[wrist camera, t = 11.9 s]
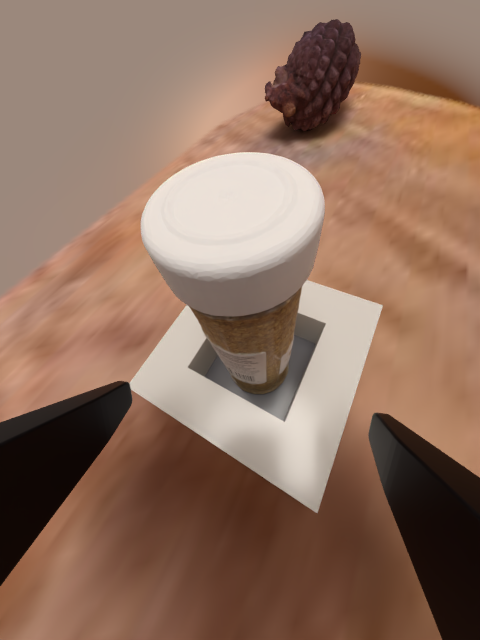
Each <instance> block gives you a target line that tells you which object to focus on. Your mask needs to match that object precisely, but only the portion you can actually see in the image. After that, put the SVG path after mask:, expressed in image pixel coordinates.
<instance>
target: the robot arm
mask: <svg viewBox="0 0 480 640" xmlns="http://www.w3.org/2000/svg"><path fill="white" fill-rule="evenodd" d="M131 404H132V394H131V388H130V384H129V383H128V382H124V381H117V382H114V383H111V384H108V385H105V386H102V387H100V388H97V389H94V390H91V391H88V392H85V393H83V394H80V395H77V396H74V397H71V398H68V399H66V400H63V401H60V402H57V403H54V404H51V405H49V406H46V407H43V408H40V409H37V410H34V411H32V412H29V413H26V414H23V415H20V416H17V417H15V418H12V419H9V420H6V421H3V422H0V586H1V585H2V583H3V582H4V581H5V579H6V578H7V577H8V575H9V574H10V573H11V571H12V570H13V569H14V567H15V566H16V565H17V563H18V562H19V561H20V559H21V558H22V557H23V555H24V554H25V553H26V551H27V550H28V549H29V547H30V546H31V545H32V543H33V542H34V541H35V539H36V538H37V537H38V535H39V534H40V533H41V531H42V530H43V529H44V527H45V526H46V525H47V523H48V522H49V521H50V519H51V518H52V517H53V515H54V514H55V513H56V511H57V510H58V509H59V507H60V506H61V505H62V503H63V502H64V501H65V499H66V498H67V497H68V495H69V494H70V493H71V491H72V490H73V489H74V487H75V486H76V484H77V483H78V482H79V480H80V479H81V478H82V476H83V475H84V474H85V472H86V471H87V470H88V468H89V467H90V466H91V464H92V463H93V462H94V460H95V459H96V458H97V456H98V455H99V454H100V452H101V451H102V450H103V448H104V447H105V446H106V444H107V443H108V441H109V440H110V438H111V437H112V435H113V434H114V432H115V430H116V429H117V427H118V426H119V424H120V422H121V421H122V419H123V418H124V416H125V414H126V413H127V411H128V410H129V408H130V406H131ZM369 441H370V445H371V448H372V452H373V455H374V459H375V462H376V466H377V469H378V473H379V476H380V480H381V483H382V486H383V489H384V492H385V495H386V498H387V500H388V503H389V505H390V508H391V510H392V513H393V516H394V518H395V521H396V523H397V526H398V528H399V531H400V533H401V536H402V538H403V541H404V543H405V546H406V548H407V551H408V554H409V556H410V559H411V561H412V564H413V566H414V569H415V571H416V574H417V576H418V579H419V581H420V584H421V587H422V589H423V592H424V594H425V597H426V599H427V602H428V604H429V607H430V609H431V612H432V614H433V617H434V620H435V622H436V625H437V627H438V630H439V632H440V635H441V637H442V640H480V478H479V477H478V476H477V475H475V474H474V473H472V472H471V471H469V470H468V469H466V468H465V467H464V466H462V465H461V464H459V463H458V462H456V461H455V460H453V459H452V458H451V457H449V456H448V455H446V454H445V453H443V452H442V451H441V450H439V449H438V448H436V447H435V446H433V445H432V444H430V443H429V442H428V441H426V440H425V439H423V438H422V437H420V436H419V435H417V434H416V433H415V432H413V431H412V430H410V429H409V428H407V427H406V426H405V425H403V424H402V423H400V422H399V421H397V420H396V419H394V418H393V417H392V416H390V415H388V414H383V413H374V414H373V416H372V420H371V425H370V429H369Z"/></svg>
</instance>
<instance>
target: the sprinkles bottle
mask: <svg viewBox="0 0 480 640" xmlns="http://www.w3.org/2000/svg"><path fill="white" fill-rule="evenodd" d="M324 214H325V203H324V196H323V193H322V189H321V187H320V185H319V183H318V182H317V180H316V179H315V177H314V176H313V175H312V174H311V173H310V172H309V171H308V170H306V169H305V168H304V167H302V166H301V165H299V164H297V163H295V162H293V161H292V160H289V159H287V158H284V157H281V156H277V155H272V154H267V153H256V152H242V153H232V154H226V155H220V156H216V157H212V158H209V159H206V160H203V161H200V162H197V163H195V164H193V165H190V166H188V167H186V168H184V169H183V170H181V171H179V172H178V173H176V174H174V175H173V176H171V177H170V178H169V179H167V180H166V181H165V182H164V183H163V184H162V185H161V186H160V187H159V188H158V189H157V190H156V191H155V192H154V193H153V195H152V196H151V198H150V199H149V201H148V202H147V204H146V207H145V209H144V211H143V214H142V218H141V235H142V241H143V243H144V246H145V248H146V250H147V251H148V253H149V255H150V257H151V258H152V260H153V262H154V264H155V265H156V267H157V269H158V270H159V272H160V273H161V275H162V276H163V278H164V280H165V281H166V283H167V284H168V286H169V287H170V288H171V290H172V291H173V293H174V294H175V295H176V296H177V297H178V298H179V299H180V300H181V301H182V302H184V303H185V304H187V305H188V306H189V307H190V309H191V310H192V312H193V313H194V315H195V317H196V318H197V320H198V322H199V324H200V325H201V328H202V331H203V333H204V335H205V336H206V338H207V339H208V341H209V342H210V344H211V345H212V347H213V348H214V350H215V351H216V353H217V354H218V356H219V358H220V359H221V361H222V362H223V364H224V365H225V367H226V368H227V370H228V371H229V372H230V375H231V377H232V379H233V381H234V382H235V383H236V384H237V385H238V386H239V387H240V388H241V389H242V390H244V391H247V392H249V393H252V394H265V393H268V392H271V391H274V390H275V389H277V388H278V387H279V386H280V385H281V384H282V383H283V381H284V379H285V377H286V375H287V373H288V365H289V359H290V355H291V350H292V345H293V340H294V329H295V323H296V317H297V313H298V309H299V302H300V296H301V291H302V286H303V284H304V283H305V281H306V280H307V279H308V277H309V275H310V273H311V271H312V269H313V266H314V262H315V258H316V254H317V250H318V245H319V241H320V236H321V231H322V225H323V220H324Z"/></svg>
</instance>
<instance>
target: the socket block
mask: <svg viewBox="0 0 480 640" xmlns="http://www.w3.org/2000/svg"><path fill="white" fill-rule="evenodd" d="M382 306H383V305H380V304H377V303H374V302H371V301H368V300H365V299H362V298H359V297H356V296H353V295H350V294H347V293H344V292H341V291H338V290H335V289H332V288H329V287H326V286H323V285H320V284H317V283H314V282H311V281H308V280H306V281H305V283H304V284H303V286H302V291H301V296H300V302H299V309H298V313H297V317H296V323H295V329H294V340H293V345H292V350H291V355H290V359H289V365H288V373H287V375H286V377H285V379H284V381H283V383H282V384H281V385H280V386H279V387H278V388H277V389H275V390H274V391H271V392H268V393H265V394H252V393H249V392H247V391H244V390H242V389H241V388H240V387H239V386H238V385H237V384H236V383H235V382H234V381H233V379H232V377H231V375H230V372H229V371H228V370H227V368H226V367H225V365H224V364H223V362H222V361H221V359H220V358H219V356H218V354H217V353H216V351H215V350H214V348H213V347H212V345H211V344H210V342H209V341H208V339H207V338H206V336H205V335H204V333H203V331H202V328H201V325H200V324H199V322H198V320H197V318H196V317H195V315H194V313H193V312H192V310H191V309H190V307H189V306H188V305H186V307H185V308H184V309H183V311H182V312H181V313H180V315H179V316H178V317H177V319H176V320H175V322H174V323H173V324H172V326H171V327H170V328H169V330H168V331H167V333H166V334H165V335H164V337H163V338H162V339H161V341H160V342H159V344H158V345H157V346H156V348H155V349H154V350H153V352H152V353H151V355H150V356H149V357H148V359H147V360H146V361H145V363H144V364H143V365H142V367H141V368H140V370H139V371H138V372H137V374H136V375H135V376H134V378H133V379H132V381H131V382H130V383H129V384H130V388H131V390H133V391H134V392H136V393H137V394H139V395H140V396H142V397H143V398H145V399H146V400H148V401H149V402H151V403H152V404H154V405H155V406H157V407H158V408H160V409H161V410H163V411H164V412H166V413H167V414H169V415H170V416H172V417H173V418H175V419H176V420H178V421H179V422H181V423H182V424H184V425H185V426H187V427H188V428H190V429H191V430H193V431H194V432H196V433H197V434H199V435H200V436H202V437H203V438H205V439H206V440H208V441H209V442H211V443H212V444H214V445H215V446H217V447H218V448H220V449H221V450H223V451H224V452H226V453H227V454H229V455H230V456H232V457H233V458H235V459H236V460H238V461H239V462H241V463H242V464H244V465H245V466H247V467H248V468H250V469H251V470H253V471H254V472H256V473H257V474H259V475H260V476H262V477H263V478H265V479H266V480H268V481H269V482H271V483H272V484H274V485H275V486H277V487H278V488H280V489H281V490H283V491H284V492H286V493H287V494H289V495H290V496H292V497H293V498H295V499H296V500H298V501H299V502H301V503H302V504H304V505H305V506H307V507H308V508H310V509H311V510H313V511H314V512H316V513H318V510H319V507H320V503H321V500H322V497H323V494H324V491H325V488H326V484H327V481H328V478H329V475H330V472H331V468H332V465H333V462H334V459H335V456H336V453H337V449H338V446H339V443H340V440H341V437H342V433H343V430H344V427H345V424H346V421H347V418H348V414H349V411H350V408H351V405H352V402H353V398H354V395H355V392H356V389H357V386H358V383H359V379H360V376H361V373H362V370H363V367H364V363H365V360H366V357H367V354H368V351H369V348H370V344H371V341H372V338H373V335H374V332H375V328H376V325H377V322H378V319H379V316H380V313H381V309H382Z"/></svg>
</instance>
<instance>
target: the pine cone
mask: <svg viewBox="0 0 480 640" xmlns="http://www.w3.org/2000/svg"><path fill="white" fill-rule="evenodd" d="M354 36H355V35H354V32H353V28H352V26H351V25H350V23H347V22H346V23H341V22H340V21H339V20H337V19H336V20H331V21H330V22H328V23H321V22H320V23H318V24H317V25H316V26H315V27H314V28H313V30H312V31H307V32H304V35H303V37H302V38H301V40H300V41H298V42H296V44H295V46H294V48H293V51H292V53H291V54H290V55H289V57H288V61H287V64H286V65H285V66H282V67H279V66H278V67H277V69H276V71H275V76H276V78H275V80H274V83H273V85H272V84H271V82H268V83H267V84H266V86H265V93H266V96H265V100H266V101H269V102H270V104H271V106H272V107H273V108H275V109H277V110H278V111H280V112H281V113H283V117H284V121H285V124H286V126H288V127H289V125H290V123H291V124H292V127H293V129H294V130H298V129H302V130H303V131H306V130H308V129H309V130H311V129H312V128H315V127H316V126H317V125H318V124H320V123H324V124H325V122H326V121H327V120H328V118H329V116H330V115H332V114H336V112H337V111H338V110H339V108H340V102H342V101H343V100H345V99H346V98H347V97H348V94H349V91H350V89H351V87H352V86H353V84H354V81H355V78H356V76H357V74H358V70H359V64H360V58H361V53H360V52H359V49H358V46H357V44H355V37H354Z"/></svg>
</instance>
